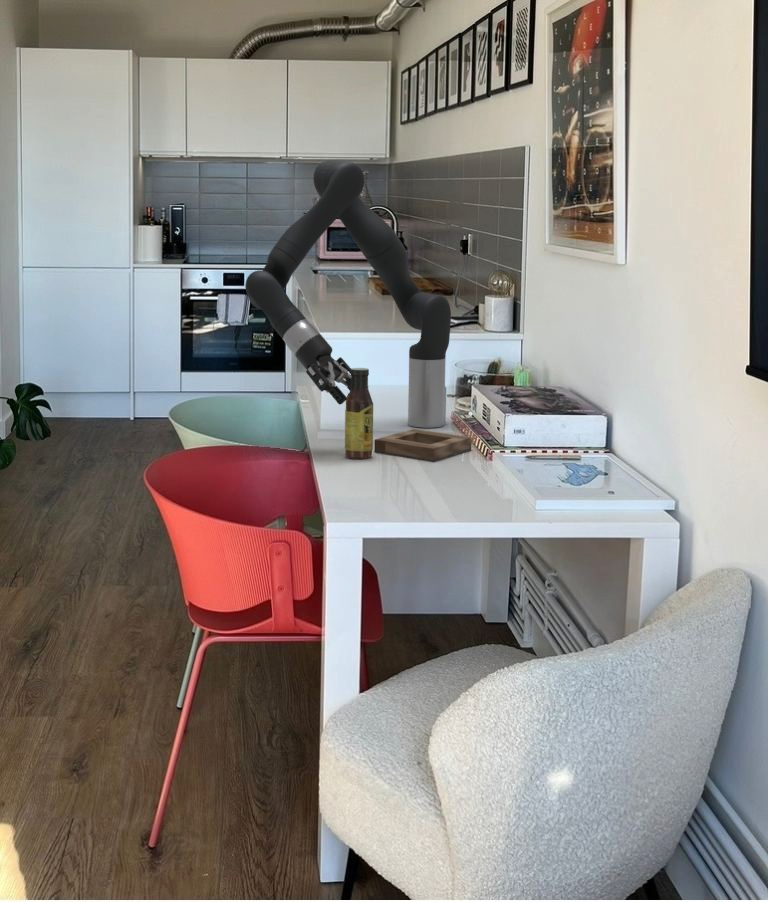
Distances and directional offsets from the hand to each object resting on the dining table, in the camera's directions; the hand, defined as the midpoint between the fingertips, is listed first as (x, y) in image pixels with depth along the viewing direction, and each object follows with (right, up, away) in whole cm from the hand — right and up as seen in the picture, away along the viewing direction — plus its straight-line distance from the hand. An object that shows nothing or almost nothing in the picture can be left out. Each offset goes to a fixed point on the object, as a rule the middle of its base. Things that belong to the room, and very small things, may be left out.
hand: (352, 399), depth 268 cm
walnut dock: (+16, -12, +9) cm, 22 cm away
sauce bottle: (+1, -13, +2) cm, 13 cm away
